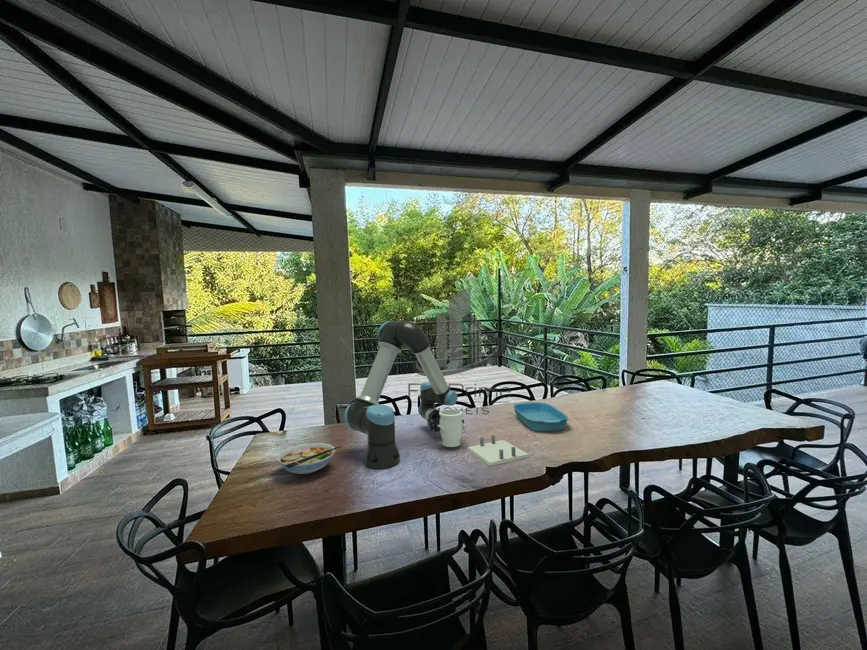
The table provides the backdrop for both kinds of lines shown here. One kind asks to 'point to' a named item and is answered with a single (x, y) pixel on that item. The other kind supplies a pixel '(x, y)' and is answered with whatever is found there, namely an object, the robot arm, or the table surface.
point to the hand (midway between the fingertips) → (454, 429)
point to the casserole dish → (540, 416)
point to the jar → (451, 427)
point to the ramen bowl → (306, 457)
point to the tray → (497, 452)
